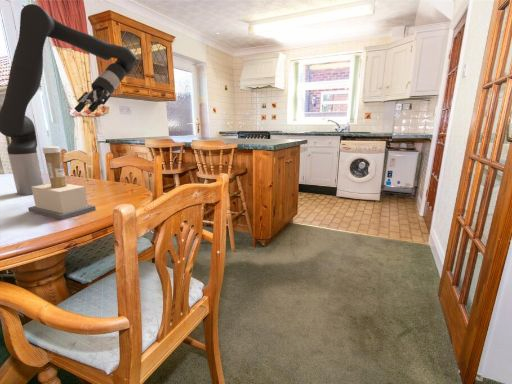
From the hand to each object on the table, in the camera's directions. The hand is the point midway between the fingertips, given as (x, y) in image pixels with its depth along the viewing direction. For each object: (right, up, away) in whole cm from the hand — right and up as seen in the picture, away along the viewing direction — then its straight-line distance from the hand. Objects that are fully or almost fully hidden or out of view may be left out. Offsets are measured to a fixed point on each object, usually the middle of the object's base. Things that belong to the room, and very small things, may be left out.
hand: (83, 110), depth 103 cm
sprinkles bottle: (+2, -31, -15) cm, 34 cm away
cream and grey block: (+1, -39, -13) cm, 41 cm away
